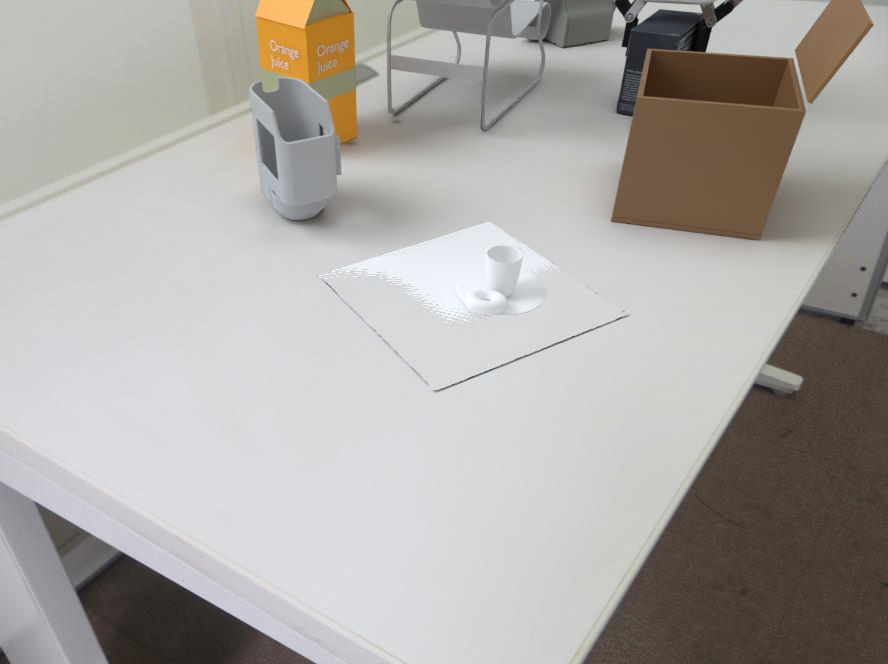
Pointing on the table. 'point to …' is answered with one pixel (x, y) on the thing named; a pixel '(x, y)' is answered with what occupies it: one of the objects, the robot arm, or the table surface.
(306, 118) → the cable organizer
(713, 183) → the carton
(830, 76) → the flap
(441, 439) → the table surface
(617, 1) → the robot arm
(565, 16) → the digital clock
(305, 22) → the orange juice
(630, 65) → the small box
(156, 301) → the table surface
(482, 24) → the chair
